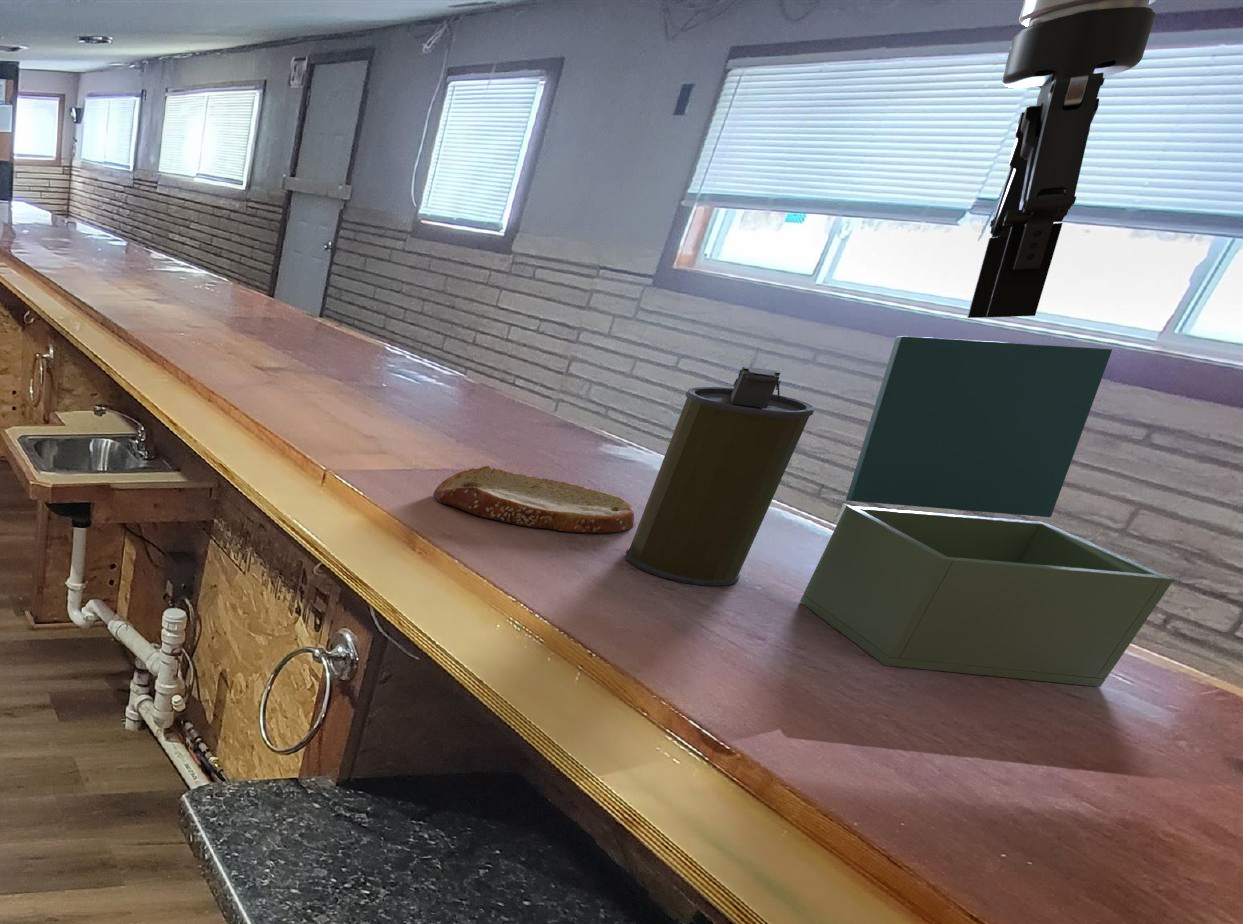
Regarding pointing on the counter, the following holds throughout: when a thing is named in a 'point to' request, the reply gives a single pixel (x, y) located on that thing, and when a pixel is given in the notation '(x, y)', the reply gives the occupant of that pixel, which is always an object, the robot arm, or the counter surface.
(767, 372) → the canister
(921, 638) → the box
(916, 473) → the lid
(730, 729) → the counter surface
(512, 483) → the bread slice
